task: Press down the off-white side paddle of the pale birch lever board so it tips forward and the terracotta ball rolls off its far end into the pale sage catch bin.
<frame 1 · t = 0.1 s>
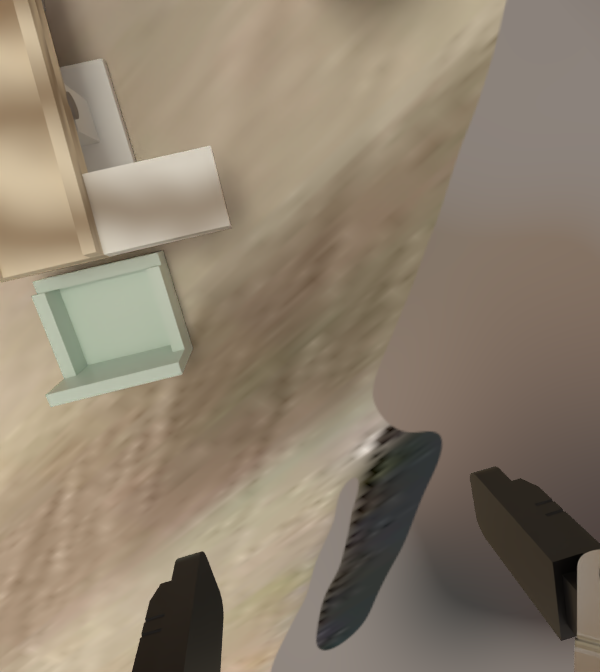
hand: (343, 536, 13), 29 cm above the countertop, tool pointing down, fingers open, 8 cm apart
lever board: (72, 94, 28), point 8 cm above the countertop, hinge at -12.0°, touching ball
lever stand: (59, 132, 35), on the countertop
catch bin: (122, 314, 39), on the countertop
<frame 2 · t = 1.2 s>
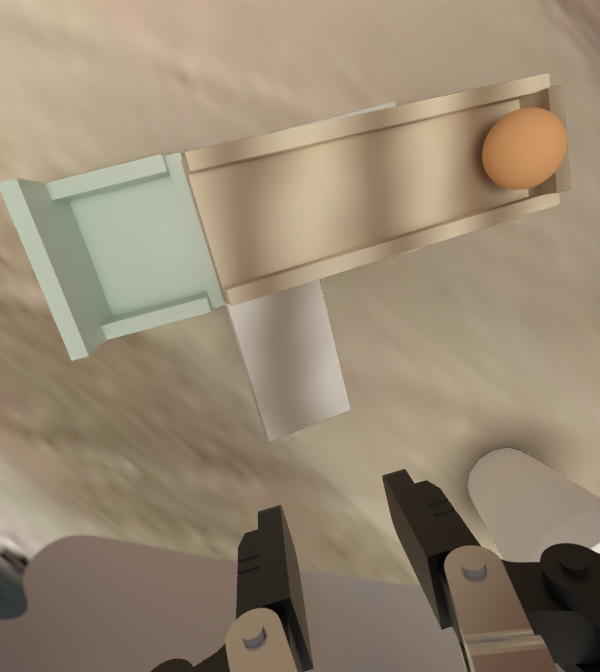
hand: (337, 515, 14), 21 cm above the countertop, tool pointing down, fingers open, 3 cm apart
lever board: (396, 258, 25), point 8 cm above the countertop, hinge at -12.0°, touching ball
lever stand: (350, 193, 32), on the countertop
foam cup: (499, 478, 40), on the countertop
catch bin: (145, 247, 31), on the countertop
ball: (523, 149, 24), point 9 cm above the countertop, tilted 8°, touching lever board
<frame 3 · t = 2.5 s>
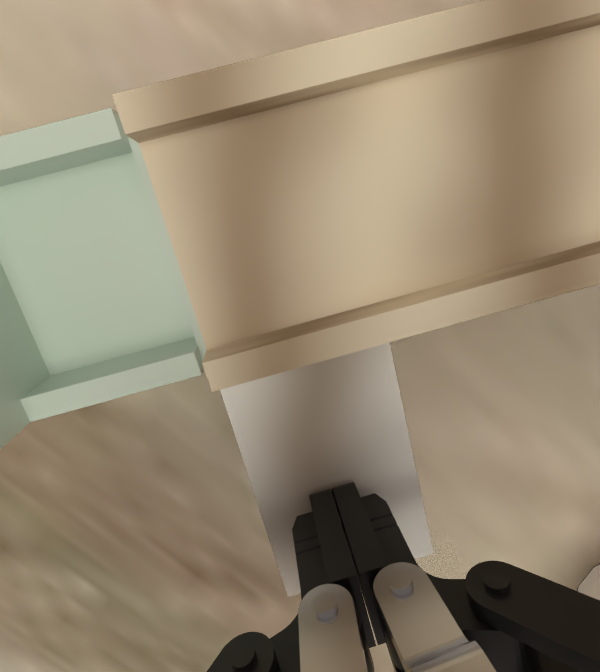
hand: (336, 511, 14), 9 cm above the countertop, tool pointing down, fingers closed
lever board: (541, 295, 14), point 8 cm above the countertop, hinge at -0.7°, touching ball, gripper
catch bin: (99, 266, 20), on the countertop
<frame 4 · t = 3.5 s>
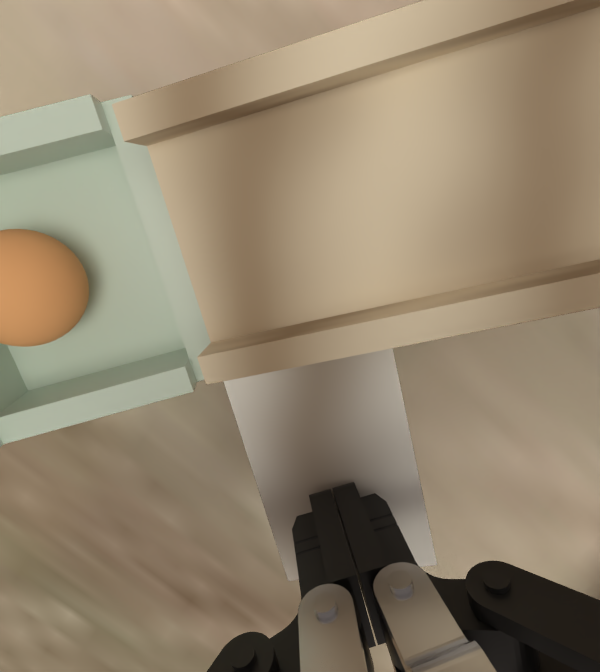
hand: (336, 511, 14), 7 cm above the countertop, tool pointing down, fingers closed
lever board: (577, 306, 12), point 8 cm above the countertop, hinge at 12.8°, touching gripper
catch bin: (81, 271, 18), on the countertop
ball: (24, 288, 15), point 3 cm above the countertop, tilted 68°, touching catch bin
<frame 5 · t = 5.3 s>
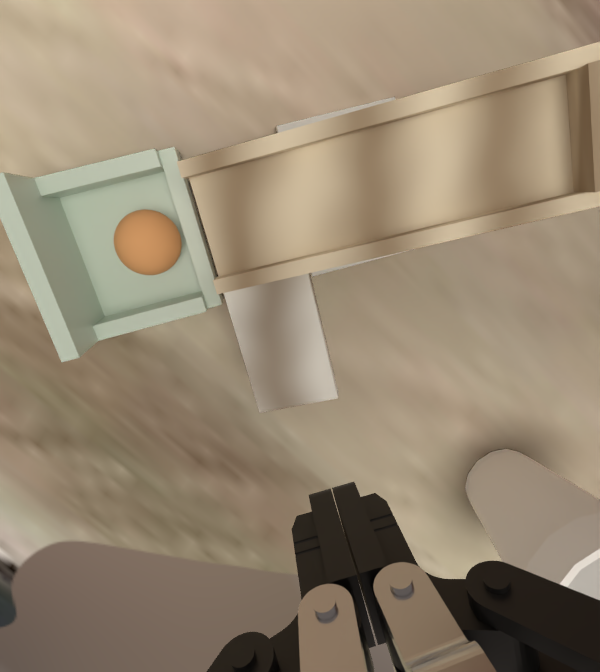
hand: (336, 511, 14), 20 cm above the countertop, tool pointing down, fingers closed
lever board: (397, 256, 25), point 8 cm above the countertop, hinge at 12.8°
lever stand: (348, 190, 31), on the countertop
foam cup: (498, 479, 40), on the countertop
catch bin: (137, 245, 30), on the countertop
ball: (148, 242, 28), point 3 cm above the countertop, touching catch bin
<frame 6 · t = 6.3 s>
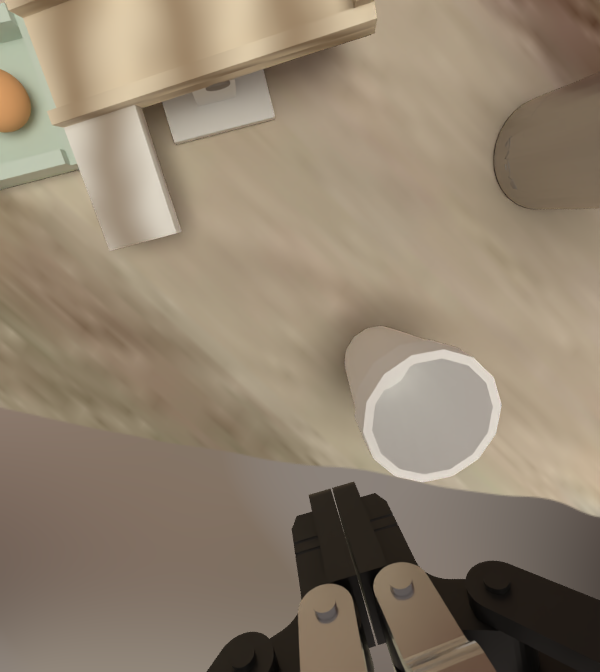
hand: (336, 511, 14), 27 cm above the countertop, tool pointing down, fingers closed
lever board: (215, 91, 28), point 8 cm above the countertop, hinge at 12.8°
lever stand: (206, 62, 34), on the countertop
foam cup: (376, 357, 42), on the countertop
catch bin: (10, 111, 33), on the countertop
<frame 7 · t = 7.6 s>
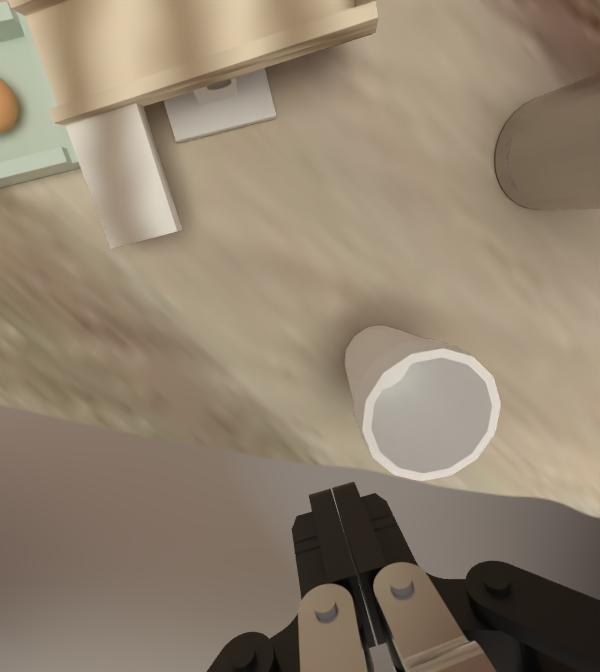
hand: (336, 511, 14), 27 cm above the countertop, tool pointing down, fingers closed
lever board: (216, 89, 28), point 8 cm above the countertop, hinge at 12.8°
lever stand: (207, 61, 34), on the countertop
foam cup: (376, 357, 42), on the countertop
catch bin: (12, 109, 34), on the countertop
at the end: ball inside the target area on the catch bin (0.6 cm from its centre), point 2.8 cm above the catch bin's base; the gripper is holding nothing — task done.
